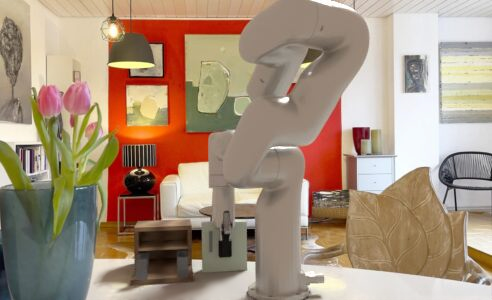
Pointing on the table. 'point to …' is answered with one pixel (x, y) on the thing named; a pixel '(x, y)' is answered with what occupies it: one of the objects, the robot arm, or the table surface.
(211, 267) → the door
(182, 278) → the cabinet
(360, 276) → the table surface
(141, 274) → the hinge clips
